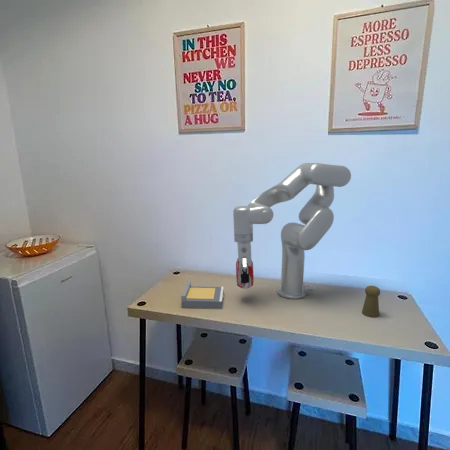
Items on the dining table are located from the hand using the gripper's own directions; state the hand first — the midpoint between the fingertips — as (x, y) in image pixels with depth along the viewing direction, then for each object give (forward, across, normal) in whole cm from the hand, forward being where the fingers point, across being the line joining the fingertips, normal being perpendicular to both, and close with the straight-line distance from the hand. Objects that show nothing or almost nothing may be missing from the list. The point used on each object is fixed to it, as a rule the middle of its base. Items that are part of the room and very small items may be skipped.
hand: (244, 278), depth 129 cm
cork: (+12, -10, -47) cm, 50 cm away
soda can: (+4, 0, 0) cm, 4 cm away
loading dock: (+9, -1, +18) cm, 20 cm away
